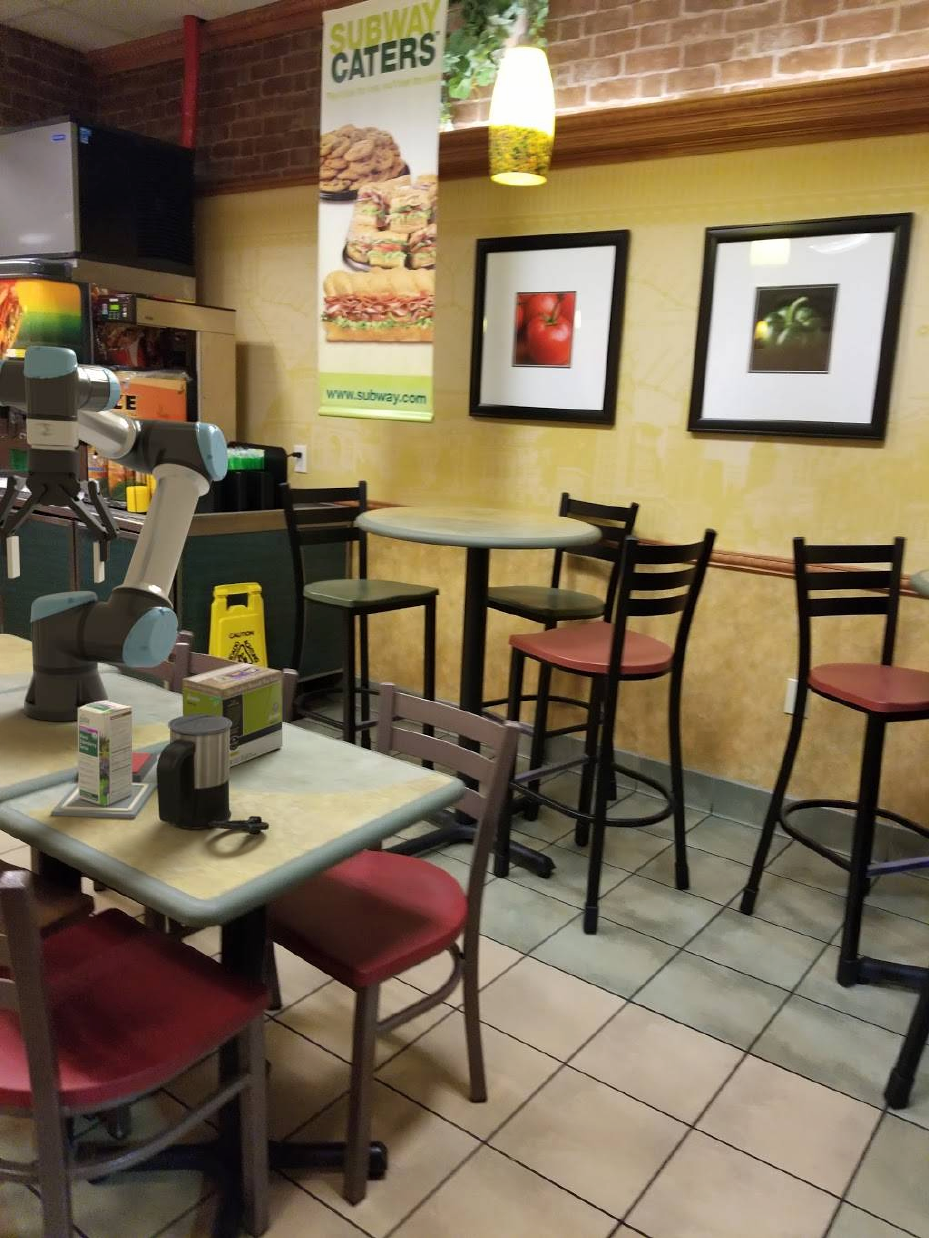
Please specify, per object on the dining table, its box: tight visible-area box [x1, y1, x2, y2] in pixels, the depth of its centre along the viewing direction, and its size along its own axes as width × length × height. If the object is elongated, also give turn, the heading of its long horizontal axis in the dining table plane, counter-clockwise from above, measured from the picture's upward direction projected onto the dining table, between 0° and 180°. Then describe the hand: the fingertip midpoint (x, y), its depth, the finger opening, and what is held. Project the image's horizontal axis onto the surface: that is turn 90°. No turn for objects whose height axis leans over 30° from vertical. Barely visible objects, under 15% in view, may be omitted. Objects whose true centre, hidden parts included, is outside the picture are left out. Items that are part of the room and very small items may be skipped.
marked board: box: [50, 781, 157, 819], centre depth 142 cm, size 12×12×1 cm
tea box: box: [181, 661, 283, 768], centre depth 163 cm, size 15×10×15 cm, turn 149°
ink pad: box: [76, 752, 158, 783], centre depth 154 cm, size 10×10×2 cm
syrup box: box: [77, 700, 133, 807], centre depth 140 cm, size 6×6×14 cm
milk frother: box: [156, 714, 270, 835], centre depth 134 cm, size 14×16×15 cm
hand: (56, 579), depth 152 cm, fingers open, 13 cm apart
